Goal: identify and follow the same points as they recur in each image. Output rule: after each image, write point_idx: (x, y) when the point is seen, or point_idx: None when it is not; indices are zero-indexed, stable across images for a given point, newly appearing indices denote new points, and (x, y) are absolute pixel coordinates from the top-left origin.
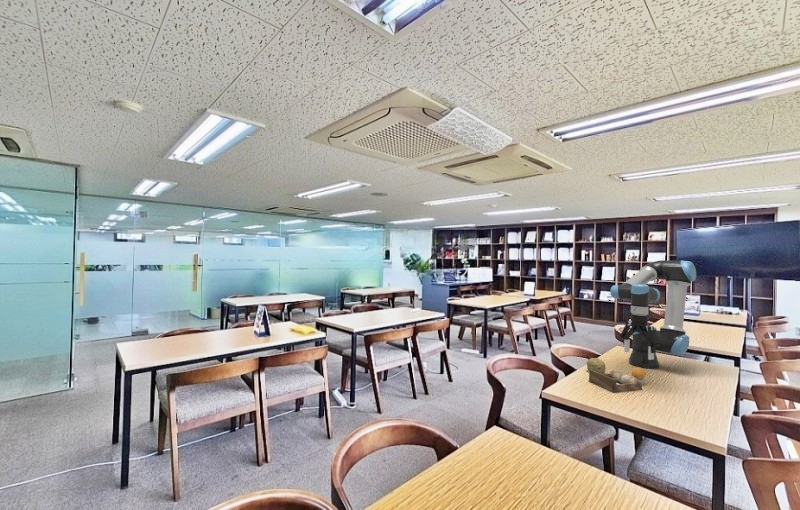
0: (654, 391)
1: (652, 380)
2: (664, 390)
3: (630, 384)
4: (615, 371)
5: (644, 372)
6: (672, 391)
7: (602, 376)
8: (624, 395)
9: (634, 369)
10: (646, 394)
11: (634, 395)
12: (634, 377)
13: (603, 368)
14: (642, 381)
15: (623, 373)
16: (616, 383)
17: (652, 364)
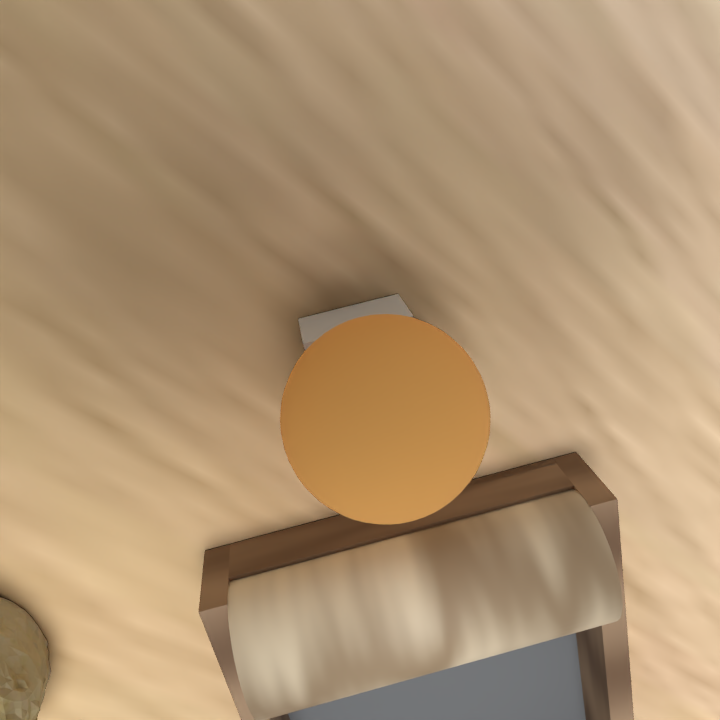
0: (637, 336)
1: (218, 12)
2: (630, 172)
3: (625, 643)
4: (308, 700)
5: (482, 389)
6: (678, 79)
7: None
8: (671, 687)
9: (399, 521)
10: (692, 484)
11: (689, 608)
12: None
13: (7, 688)
14: None
15: (408, 649)
16: None
17: None
